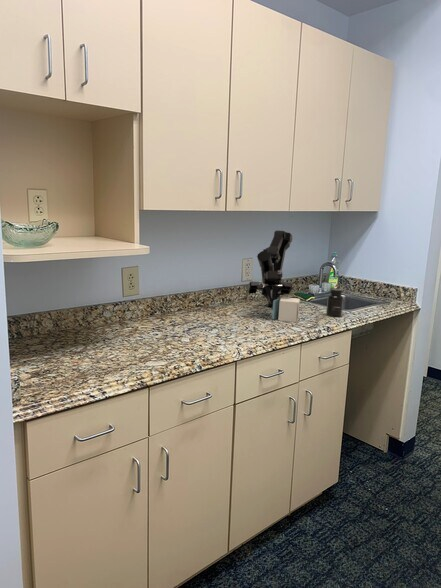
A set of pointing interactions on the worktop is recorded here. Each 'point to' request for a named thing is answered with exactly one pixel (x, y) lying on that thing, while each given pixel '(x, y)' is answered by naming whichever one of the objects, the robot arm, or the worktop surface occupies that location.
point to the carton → (289, 309)
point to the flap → (275, 308)
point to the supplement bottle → (335, 303)
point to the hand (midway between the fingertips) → (272, 304)
